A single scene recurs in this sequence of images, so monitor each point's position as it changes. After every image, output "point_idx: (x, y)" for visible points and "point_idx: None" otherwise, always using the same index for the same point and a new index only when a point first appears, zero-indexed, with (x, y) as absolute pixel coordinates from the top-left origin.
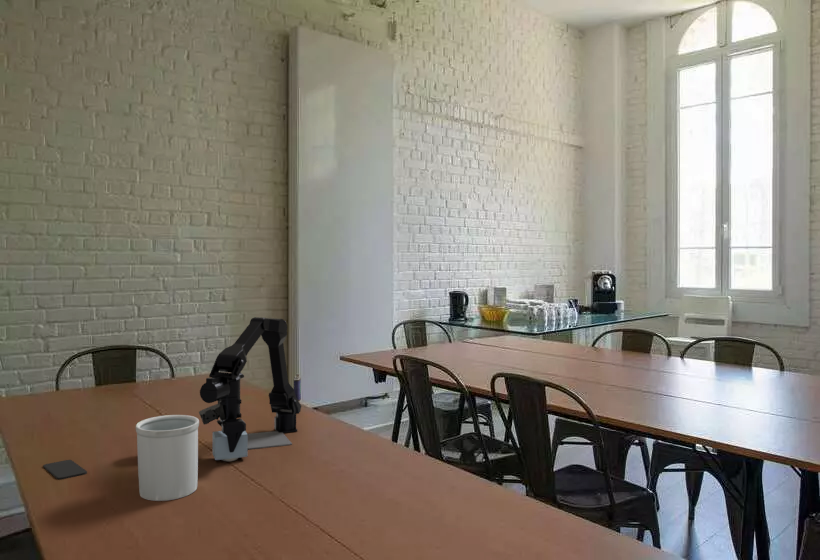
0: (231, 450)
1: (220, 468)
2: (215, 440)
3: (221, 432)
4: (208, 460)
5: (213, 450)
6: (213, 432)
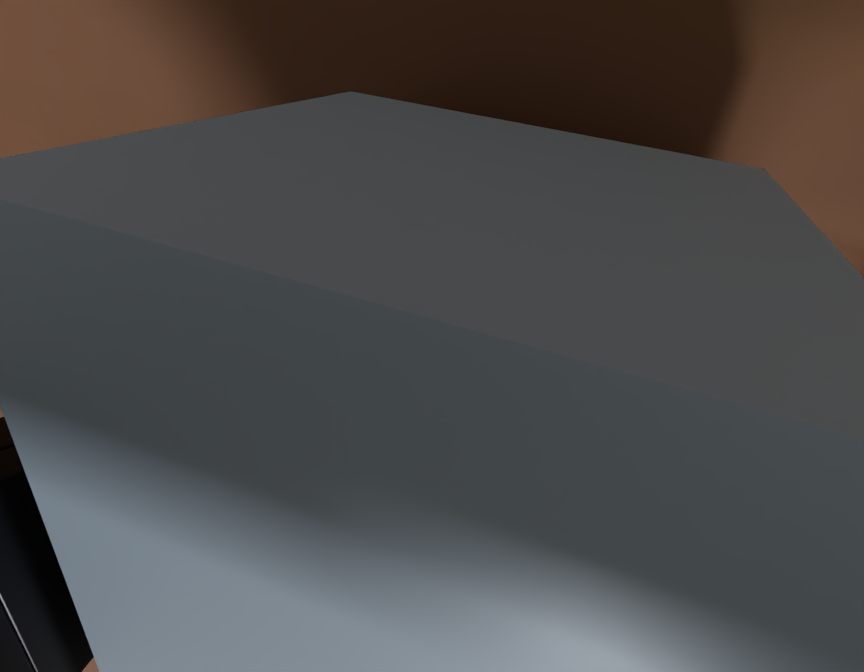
0: None
1: (191, 98)
2: (39, 160)
3: (525, 640)
4: (633, 33)
5: (588, 157)
6: (804, 453)
